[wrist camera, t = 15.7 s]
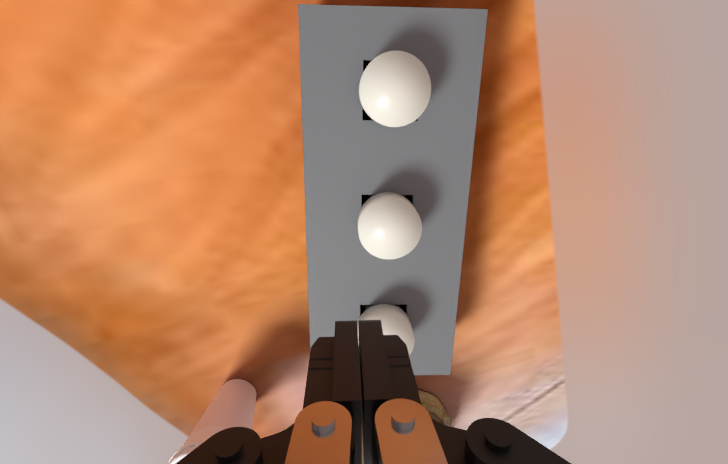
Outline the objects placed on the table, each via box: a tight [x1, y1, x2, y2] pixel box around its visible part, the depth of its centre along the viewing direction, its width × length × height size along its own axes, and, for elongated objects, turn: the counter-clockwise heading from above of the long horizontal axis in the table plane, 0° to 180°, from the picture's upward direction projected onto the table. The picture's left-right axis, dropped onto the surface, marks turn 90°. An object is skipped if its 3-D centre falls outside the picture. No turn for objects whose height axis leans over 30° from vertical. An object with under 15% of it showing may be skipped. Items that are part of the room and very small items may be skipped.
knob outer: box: [357, 304, 415, 355], centre depth 32 cm, size 4×4×7 cm
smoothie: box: [169, 379, 257, 464], centre depth 32 cm, size 6×6×14 cm
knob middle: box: [357, 192, 422, 260], centre depth 29 cm, size 4×4×7 cm
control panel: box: [298, 4, 488, 375], centre depth 31 cm, size 28×12×5 cm, turn 179°
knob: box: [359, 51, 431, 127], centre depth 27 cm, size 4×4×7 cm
